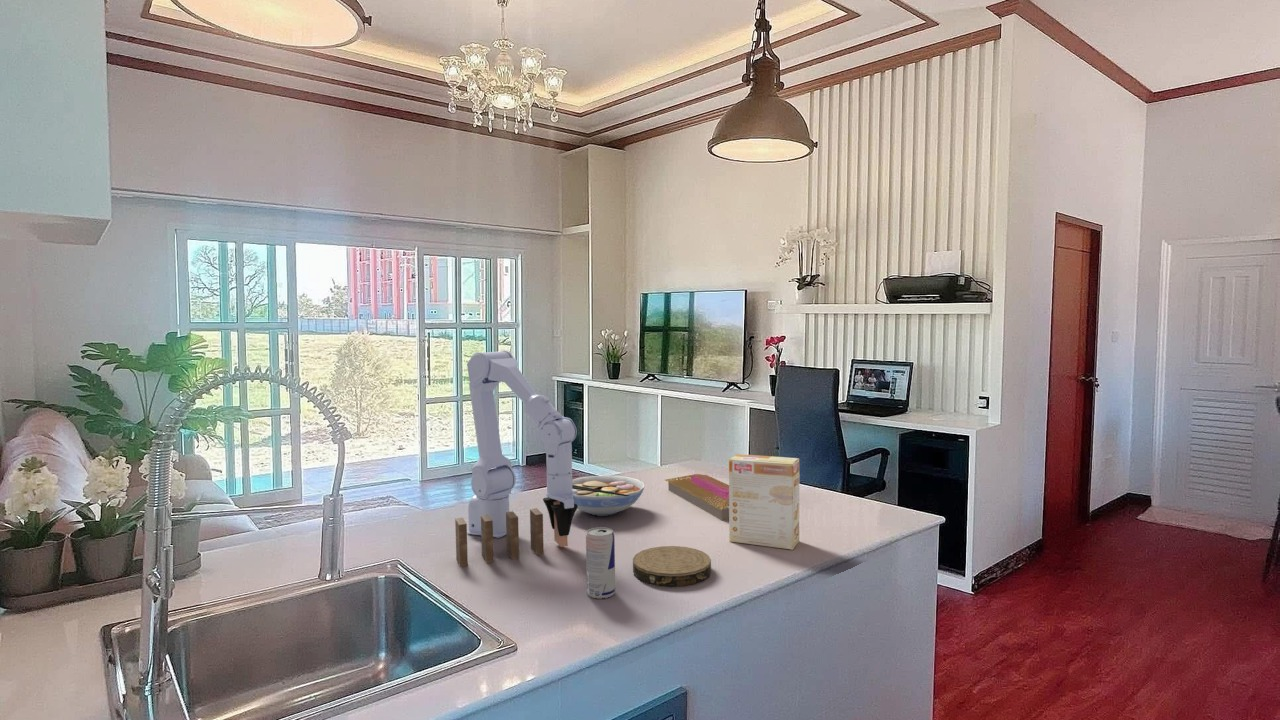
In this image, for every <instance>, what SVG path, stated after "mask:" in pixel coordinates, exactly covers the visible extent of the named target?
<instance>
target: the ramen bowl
mask: <svg viewBox="0 0 1280 720" xmlns="http://www.w3.org/2000/svg"><path fill="white" fill-rule="evenodd" d="M645 485H646V484H645V481H642V480H640V479H638V478H633V477H630V476H621V475H590V476H583V477H577V478H572V489H576V490H577V494H574V495H573V499H574V504H577V505H578V507H577V510H578V511H581V512H583V513H584V512H585V513H588V514H590V515H591V514H592V515H593V516H595V515H597V517H608V515H609V516H612V515H615V514H617V513H618V512H622V511H624V510H627V509H628V508H630V507H631V506H632V505H634V504H635V503H637V501H638V500H639V498H640V497H641V496H642V494H643V492H644V490H645V487H646V486H645ZM592 515H591V516H592Z"/></svg>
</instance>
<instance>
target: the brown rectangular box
mask: <svg viewBox="0 0 1280 720" xmlns="http://www.w3.org/2000/svg"><path fill="white" fill-rule="evenodd" d="M664 481H666V482H667V483H668V485H667V486H668V487H667V488H668V491H669V492H671V493H672V494H673V495H676V496H678V497H680V498H681V499H683V500H685V501H686V502H688V503H690V504H692V505H694V506H695V507H697V508H699V509H701V510H703V511H705V512H706V513H708V514H709V515H712V516H713V517H715V518H716V519H719V520H720V521H721V522H722V521H729V483H728V484H727V483H726V482H723V481H720V480H719V479H716V478H714V477H712V476H709V475H707V474H702V473H701V474H700V473H695V474H689V475H688V474H687V475H683V476H677V477H673V478H668V479H664Z"/></svg>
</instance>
